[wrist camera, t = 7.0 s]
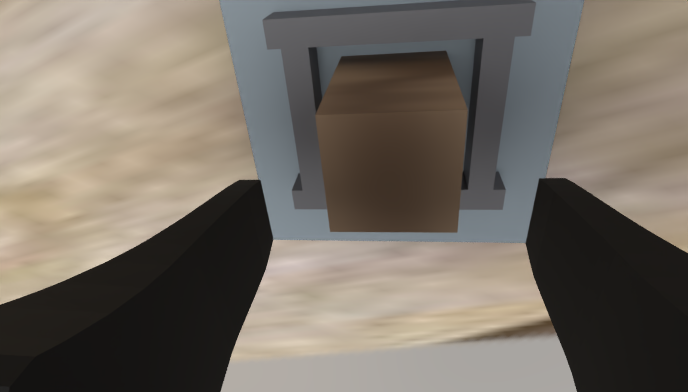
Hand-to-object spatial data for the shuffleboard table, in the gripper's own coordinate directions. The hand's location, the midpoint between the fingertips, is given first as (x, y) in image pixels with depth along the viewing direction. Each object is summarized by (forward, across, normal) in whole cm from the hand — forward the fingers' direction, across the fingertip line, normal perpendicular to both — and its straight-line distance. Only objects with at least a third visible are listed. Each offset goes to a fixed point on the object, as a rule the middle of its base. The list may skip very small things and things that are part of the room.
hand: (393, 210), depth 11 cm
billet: (+7, 0, 0) cm, 7 cm away
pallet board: (+8, 0, 0) cm, 8 cm away
